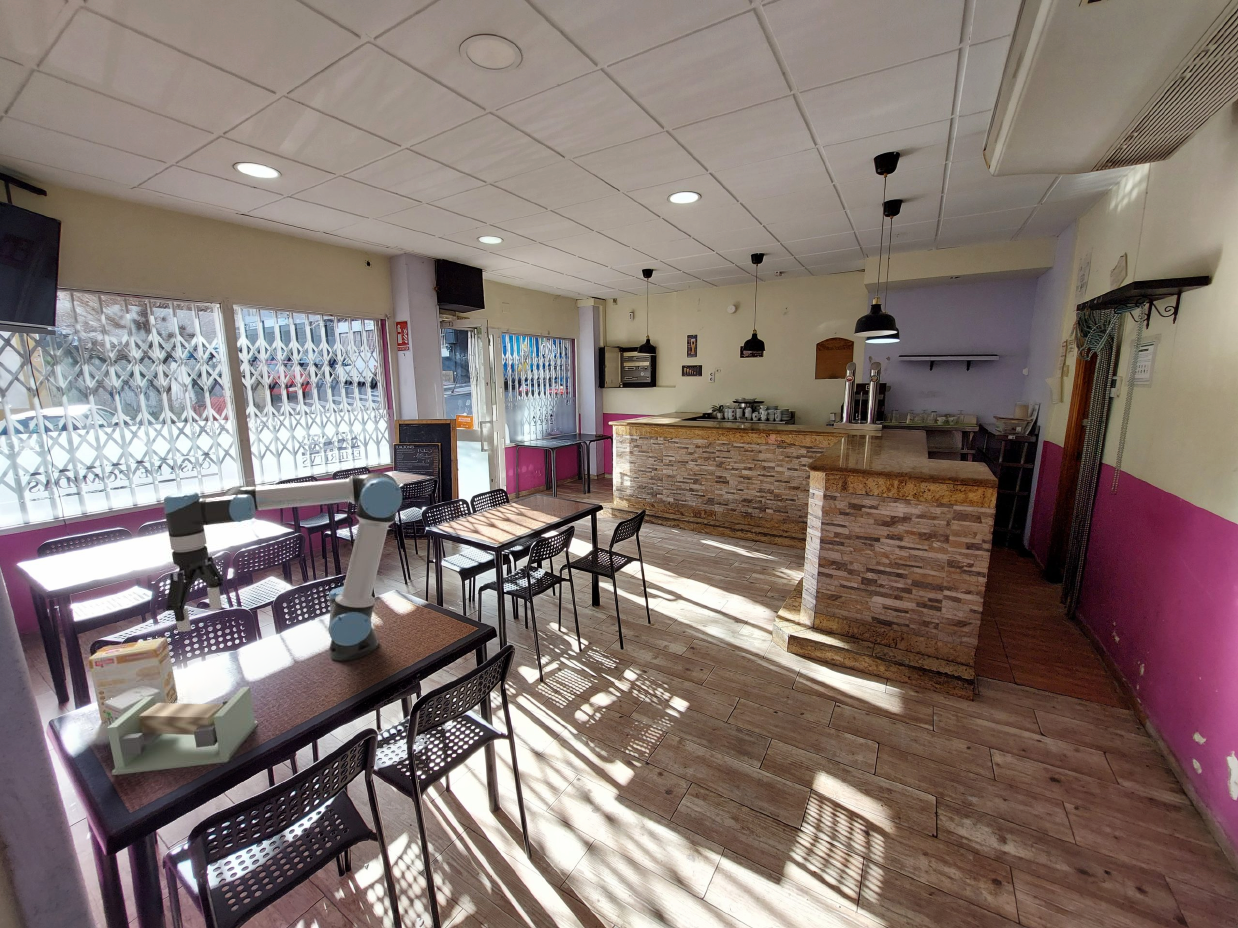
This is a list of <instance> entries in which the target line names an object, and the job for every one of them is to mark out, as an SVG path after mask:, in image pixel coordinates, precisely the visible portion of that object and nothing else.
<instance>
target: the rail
mask: <svg viewBox="0 0 1238 928" xmlns="http://www.w3.org/2000/svg"><path fill="white" fill-rule="evenodd" d="M223 706H224V705H223V703H222V704H216V703H215V704H214V703H212V704H211V703H179V702H178V703H177V702H176V703H175V702H173V703H157V704H156V705H154V706H153V707H151V708H150V709H148V710H147V711H145V712H144V713H142V714H141V715H139V718H140V724H141V729H142V733H148V734H181V735H194V730H195V729H196V728H197V727H204V726H213V725H215V723H214V716H215V715H216V714H217V713H218V712H219V711H220V710H221V709H222V707H223Z"/></svg>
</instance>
